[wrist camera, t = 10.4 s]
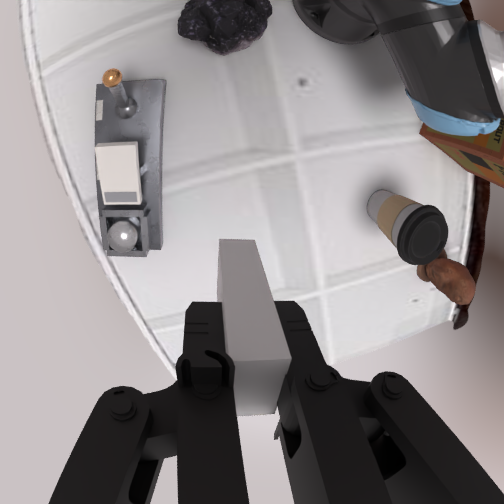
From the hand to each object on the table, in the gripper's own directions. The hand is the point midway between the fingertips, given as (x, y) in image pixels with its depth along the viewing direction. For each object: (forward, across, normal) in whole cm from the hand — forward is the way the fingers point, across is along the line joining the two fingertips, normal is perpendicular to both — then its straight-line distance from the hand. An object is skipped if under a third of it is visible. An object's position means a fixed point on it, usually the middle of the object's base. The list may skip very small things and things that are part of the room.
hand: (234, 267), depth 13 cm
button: (+29, -13, -11) cm, 34 cm away
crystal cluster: (+33, -1, +22) cm, 39 cm away
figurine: (+33, +48, -18) cm, 61 cm away
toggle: (+29, -14, +7) cm, 33 cm away
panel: (+32, -14, -2) cm, 35 cm away
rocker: (+27, -14, -2) cm, 30 cm away
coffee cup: (+33, +29, -6) cm, 44 cm away
